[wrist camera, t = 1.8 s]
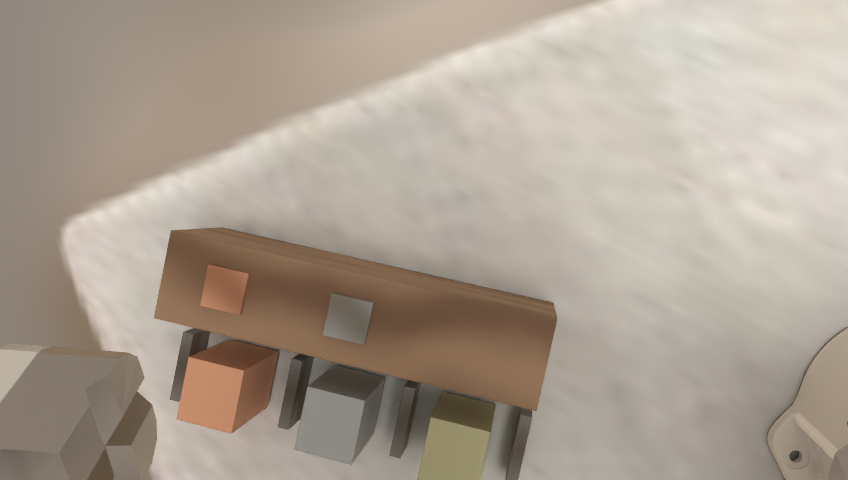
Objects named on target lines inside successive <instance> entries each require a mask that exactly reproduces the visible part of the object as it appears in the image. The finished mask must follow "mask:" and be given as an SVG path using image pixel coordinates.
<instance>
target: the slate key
mask: <svg viewBox="0 0 848 480" xmlns="http://www.w3.org/2000/svg"><path fill="white" fill-rule="evenodd" d="M384 382H385V377H381V376H377V375H373V374H369V373H365V372H360V371H356V370H352V369H348V368H344V367H340V366H336V365H334V366H333V367H332V368H331V369H329V370H328V371H327V372H325V373H324V374H323V375H322V376H320V377H319V378H318V379H317V380H315V381H314V382H313V383H311V384H310V385H309V386H308V387H307V392H306V396H305V401H304V406H303V411H302V416H301V421H300V425H299V430H298V435H297V440H296V445H295V449H294V450H297V451H301V452H305V453H309V454H313V455H316V456H320V457H324V458H328V459H332V460H336V461H340V462H344V463H347V464H351V465H352V463H353V462H354V460H355V459H356V458H357V456H358V455H359V453H360V452H361V450H362V449H363V448H364V446H365V445H366V443H367V442H368V441H369V439H370V438H371V436H372V435H373V433H374V428H375V424H376V419H377V414H378V410H379V405H380V400H381V396H382V391H383V386H384Z"/></svg>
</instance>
